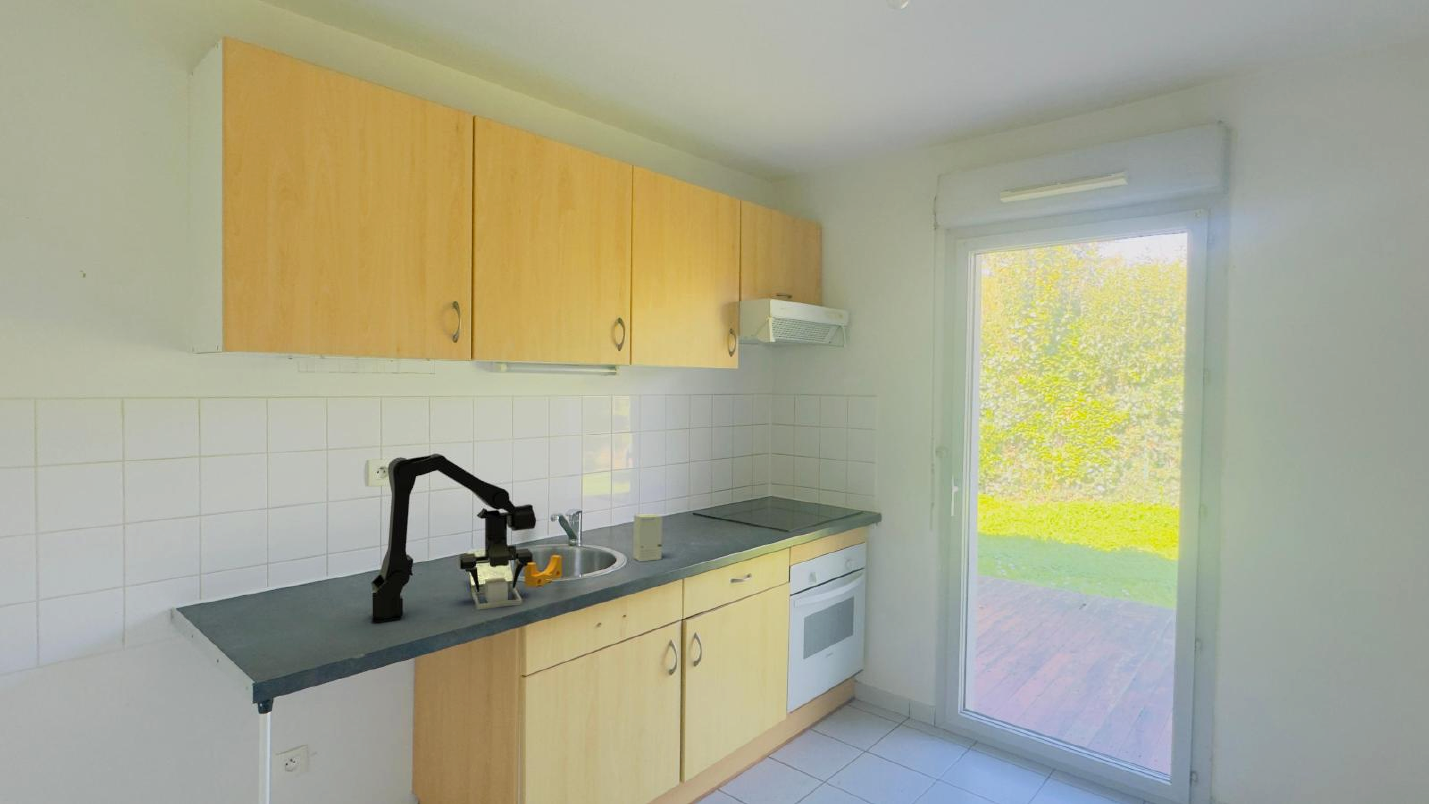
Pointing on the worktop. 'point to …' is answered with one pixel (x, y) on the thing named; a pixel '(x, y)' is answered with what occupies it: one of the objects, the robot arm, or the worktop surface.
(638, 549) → the skincare box
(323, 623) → the worktop surface
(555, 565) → the pipe clamp
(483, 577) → the case
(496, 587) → the block
